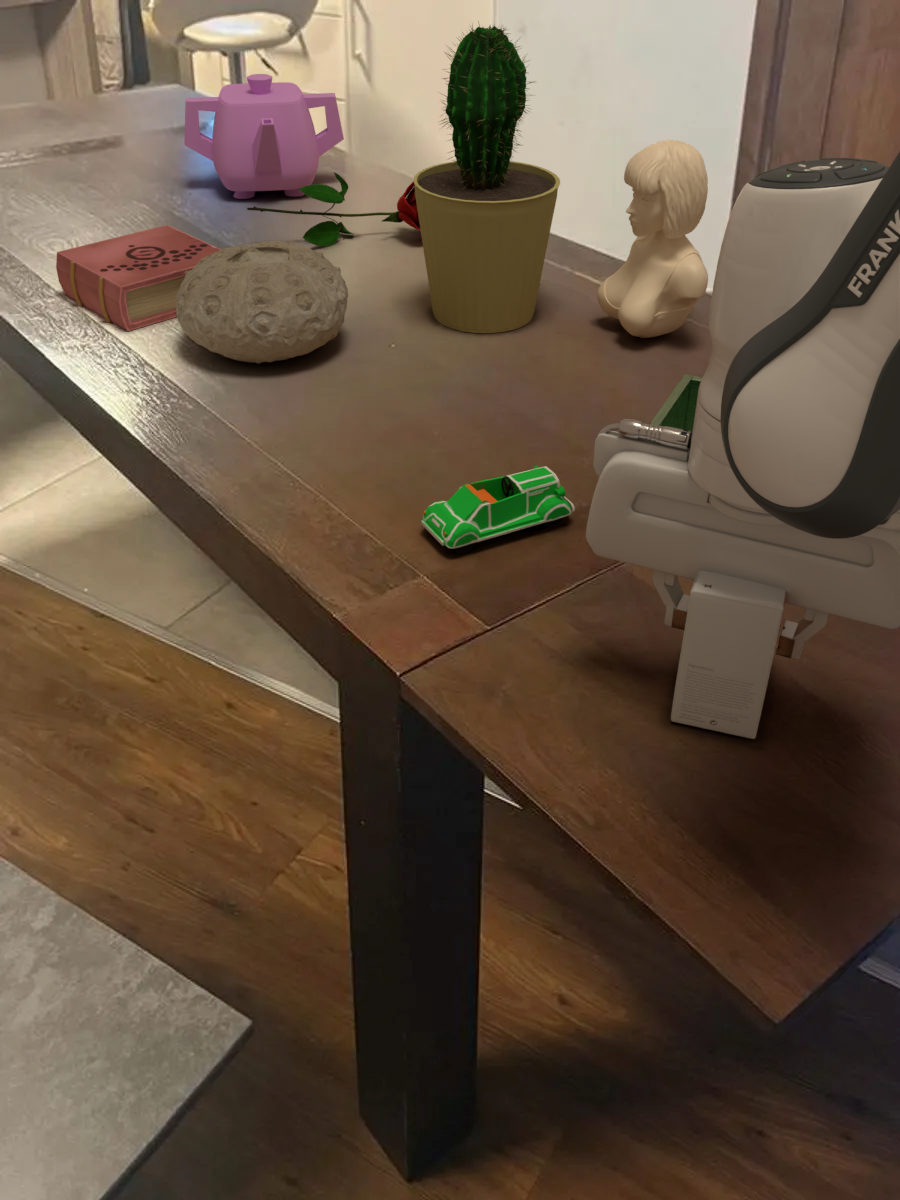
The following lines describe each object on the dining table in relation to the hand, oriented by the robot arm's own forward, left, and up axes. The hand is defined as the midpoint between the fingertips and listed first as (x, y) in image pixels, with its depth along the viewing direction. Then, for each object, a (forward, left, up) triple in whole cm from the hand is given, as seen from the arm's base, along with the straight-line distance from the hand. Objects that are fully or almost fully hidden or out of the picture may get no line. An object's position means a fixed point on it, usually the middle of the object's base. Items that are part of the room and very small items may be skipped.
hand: (732, 638), depth 76 cm
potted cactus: (+41, -54, -5) cm, 68 cm away
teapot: (+88, -84, -5) cm, 122 cm away
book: (+78, -42, -5) cm, 88 cm away
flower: (+64, -69, -5) cm, 94 cm away
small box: (0, 0, -5) cm, 5 cm away
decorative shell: (+58, -36, -5) cm, 69 cm away
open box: (+6, -26, -5) cm, 27 cm away
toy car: (+22, -13, -5) cm, 26 cm away
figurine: (+23, -57, -5) cm, 61 cm away
